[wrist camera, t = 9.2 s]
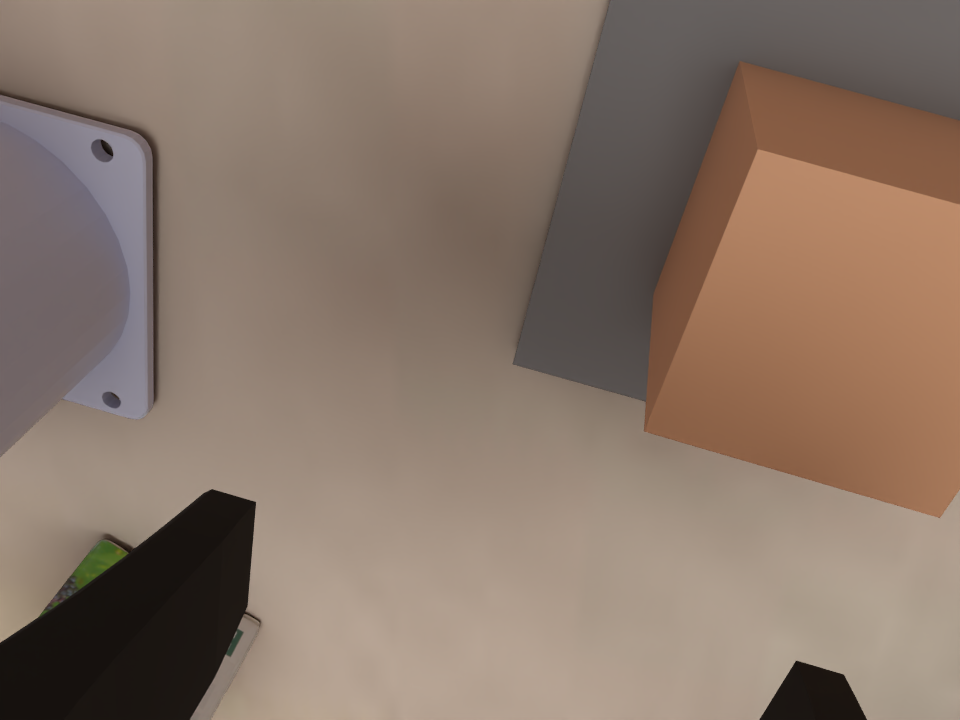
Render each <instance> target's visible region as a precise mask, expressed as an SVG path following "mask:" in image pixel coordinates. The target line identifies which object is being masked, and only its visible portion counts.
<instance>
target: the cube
mask: <svg viewBox="0 0 960 720" xmlns="http://www.w3.org/2000/svg"><path fill="white" fill-rule="evenodd" d="M644 432H648V433H651V434H655V435H658V436H662V437H665V438H668V439H672V440H675V441H679V442H682V443H686V444H689V445H692V446H696V447H699V448H703V449H706V450H709V451H713V452H716V453H720V454H723V455H727V456H730V457H733V458H737V459H740V460H744V461H747V462H750V463H754V464H757V465H761V466H764V467H768V468H771V469H774V470H778V471H781V472H785V473H788V474H791V475H795V476H798V477H802V478H805V479H809V480H812V481H815V482H819V483H822V484H826V485H829V486H833V487H836V488H839V489H843V490H846V491H850V492H853V493H856V494H860V495H863V496H867V497H870V498H874V499H877V500H880V501H884V502H887V503H891V504H894V505H897V506H901V507H904V508H908V509H911V510H915V511H918V512H921V513H925V514H928V515H932V516H935V517H938V518H940V517H941V516H942V514H943V513H944V511H945V510H946V508H947V507H948V505H949V504H950V503H951V501H952V500H953V498H954V497H955V495H956V494H957V492H958V491H959V489H960V120H956V119H952V118H948V117H945V116H941V115H937V114H934V113H930V112H926V111H923V110H919V109H915V108H911V107H908V106H904V105H900V104H897V103H893V102H889V101H886V100H882V99H878V98H875V97H871V96H867V95H863V94H860V93H856V92H852V91H849V90H845V89H841V88H838V87H834V86H830V85H826V84H823V83H819V82H815V81H812V80H808V79H804V78H801V77H797V76H793V75H790V74H786V73H782V72H778V71H775V70H771V69H767V68H764V67H760V66H756V65H753V64H749V63H745V62H742V61H740V62H739V64H738V67H737V70H736V72H735V75H734V78H733V80H732V83H731V86H730V89H729V91H728V94H727V97H726V99H725V102H724V105H723V107H722V110H721V113H720V116H719V118H718V121H717V124H716V126H715V129H714V132H713V134H712V137H711V140H710V143H709V145H708V148H707V151H706V153H705V156H704V159H703V161H702V164H701V167H700V170H699V172H698V175H697V178H696V180H695V183H694V186H693V188H692V191H691V194H690V197H689V199H688V202H687V205H686V207H685V210H684V213H683V216H682V218H681V221H680V224H679V226H678V229H677V232H676V234H675V237H674V240H673V243H672V245H671V248H670V251H669V253H668V256H667V259H666V261H665V264H664V267H663V270H662V272H661V275H660V278H659V280H658V283H657V286H656V288H655V291H654V294H653V307H652V322H651V336H650V351H649V366H648V381H647V395H646V410H645V425H644Z"/></svg>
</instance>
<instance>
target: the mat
mask: <svg viewBox="0 0 960 720" xmlns="http://www.w3.org/2000/svg"><path fill="white" fill-rule="evenodd" d="M740 61H742V62H745V63H749V64H753V65H756V66H760V67H764V68H767V69H771V70H775V71H778V72H782V73H786V74H790V75H793V76H797V77H801V78H804V79H808V80H812V81H815V82H819V83H823V84H826V85H830V86H834V87H838V88H841V89H845V90H849V91H852V92H856V93H860V94H863V95H867V96H871V97H875V98H878V99H882V100H886V101H889V102H893V103H897V104H900V105H904V106H908V107H911V108H915V109H919V110H923V111H926V112H930V113H934V114H937V115H941V116H945V117H948V118H952V119H956V120H960V0H610V3H609V7H608V11H607V15H606V18H605V22H604V26H603V29H602V33H601V37H600V41H599V44H598V48H597V52H596V56H595V59H594V63H593V67H592V71H591V74H590V78H589V82H588V86H587V89H586V93H585V97H584V100H583V104H582V108H581V112H580V115H579V119H578V123H577V127H576V130H575V134H574V138H573V142H572V145H571V149H570V153H569V156H568V160H567V164H566V168H565V171H564V175H563V179H562V183H561V186H560V190H559V194H558V198H557V201H556V205H555V209H554V212H553V216H552V220H551V224H550V227H549V231H548V235H547V239H546V242H545V246H544V250H543V254H542V257H541V261H540V265H539V269H538V272H537V276H536V280H535V283H534V287H533V291H532V295H531V298H530V302H529V306H528V310H527V313H526V317H525V321H524V325H523V328H522V332H521V336H520V339H519V343H518V347H517V351H516V354H515V358H514V362H513V364H514V365H517V366H521V367H525V368H528V369H532V370H535V371H539V372H542V373H546V374H550V375H553V376H557V377H560V378H564V379H567V380H571V381H575V382H578V383H582V384H585V385H589V386H592V387H596V388H600V389H603V390H607V391H610V392H614V393H617V394H621V395H625V396H628V397H632V398H635V399H639V400H642V401H646V395H647V381H648V366H649V351H650V336H651V322H652V307H653V294H654V291H655V288H656V286H657V283H658V280H659V278H660V275H661V272H662V270H663V267H664V264H665V261H666V259H667V256H668V253H669V251H670V248H671V245H672V243H673V240H674V237H675V234H676V232H677V229H678V226H679V224H680V221H681V218H682V216H683V213H684V210H685V207H686V205H687V202H688V199H689V197H690V194H691V191H692V188H693V186H694V183H695V180H696V178H697V175H698V172H699V170H700V167H701V164H702V161H703V159H704V156H705V153H706V151H707V148H708V145H709V143H710V140H711V137H712V134H713V132H714V129H715V126H716V124H717V121H718V118H719V116H720V113H721V110H722V107H723V105H724V102H725V99H726V97H727V94H728V91H729V89H730V86H731V83H732V80H733V78H734V75H735V72H736V70H737V67H738V64H739V62H740Z"/></svg>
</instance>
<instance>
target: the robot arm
mask: <svg viewBox="0 0 960 720" xmlns="http://www.w3.org/2000/svg"><path fill="white" fill-rule="evenodd" d="M101 139H102V140H104V141H106V142H108V144H109V145H110V146H111V147H112V150H113V156H110V155H109V154H107V153H106V152H105V151H104V150H103V148H102V145H101ZM111 392H112V393H114V394H116V395H117V396H118V397H119V398H120V400H119V399H117V398H115V397H114V396H113V395H112V394H111ZM61 399H64V400H67V401H71V402H74V403H78V404H81V405H85V406H88V407H92V408H95V409H98V410H102V411H105V412H109V413H112V414H116V415H119V416H122V417H126V418H129V419H136V420H138V419H142V418H144V417H145V416H146V415H147V414H148V412H149V411H150V410H151V409H152V407H153V403H154V391H153V157H152V152H151V148H150V146H149V145H148V143H147V141H146V140H145V139H144V138H143V137H142V136H141V135H140V134H138V133H136V132H134V131H131V130H128V129H124V128H121V127H117V126H113V125H110V124H106V123H102V122H99V121H95V120H91V119H88V118H84V117H80V116H77V115H73V114H69V113H65V112H62V111H58V110H54V109H51V108H47V107H43V106H40V105H36V104H32V103H29V102H25V101H21V100H18V99H14V98H10V97H7V96H3V95H0V457H1V456H2V455H3V454H4V453H5V452H6V451H8V450H9V449H10V448H11V447H12V446H13V445H14V444H15V443H16V442H17V441H18V440H19V439H20V438H21V437H22V436H23V435H24V434H25V433H26V432H27V431H29V430H30V429H31V428H32V427H33V426H34V425H35V424H36V423H37V422H38V421H39V420H40V419H41V418H42V417H43V416H44V415H45V414H46V413H47V412H49V411H50V410H51V409H52V408H53V407H54V406H55V405H56V404H57V403H58V402H59V401H60V400H61ZM255 508H256V502H254V501H250V500H247V499H244V498H240V497H237V496H233V495H230V494H227V493H223V492H220V491H216V490H213V489H212V490H210V491H208V492H205V493H203V494H202V495H201V496H200V497H199V498H197V499H196V500H195V501H194V502H193V503H191V504H190V505H189V506H188V507H187V508H185V509H184V510H183V511H182V512H180V513H179V514H178V515H177V516H175V517H174V518H173V519H172V520H171V521H169V522H168V523H167V524H166V525H164V526H163V527H162V528H161V529H159V530H158V531H157V532H156V533H154V534H153V535H152V536H150V537H149V538H148V539H147V540H145V541H144V542H143V543H141V544H140V545H139V546H138V547H136V548H135V549H134V550H132V551H131V552H130V553H128V554H127V555H126V556H125V557H123V558H122V559H121V560H119V561H118V562H116V563H115V564H114V565H112V566H111V567H110V568H108V569H107V570H105V571H104V572H103V573H101V574H100V575H99V576H97V577H96V578H95V579H93V580H92V581H90V582H89V583H88V584H86V585H85V586H84V587H82V588H81V589H80V590H78V591H77V592H75V593H74V594H73V595H71V596H70V597H68V598H67V599H65V600H64V601H63V602H61V603H60V604H58V605H57V606H55V607H54V608H52V609H51V610H49V611H48V612H46V613H45V614H43V615H42V616H40V617H38V618H37V619H35V620H34V621H32V622H31V623H29V624H28V625H26V626H25V627H23V628H22V629H20V630H19V631H17V632H16V633H14V634H13V635H11V636H10V637H8V638H7V639H5V640H4V641H2V642H1V643H0V720H190V718H191V717H192V715H193V713H194V712H195V710H196V708H197V707H198V705H199V703H200V702H201V700H202V698H203V697H204V695H205V693H206V692H207V690H208V688H209V686H210V685H211V683H212V681H213V680H214V678H215V676H216V674H217V672H218V670H219V668H220V665H221V663H222V661H223V659H224V657H225V655H226V653H227V650H228V648H229V646H230V644H231V642H232V640H233V637H234V635H235V633H236V631H237V628H238V626H239V624H240V622H241V619H242V617H243V615H244V613H245V611H246V608H247V605H248V593H249V581H250V569H251V556H252V544H253V532H254V520H255ZM760 720H867V719H866V717H865V715H864V713H863V711H862V709H861V707H860V705H859V703H858V701H857V699H856V697H855V695H854V693H853V691H852V689H851V687H850V686H849V684H848V682H847V680H846V678H845V676H844V675H843V674H840V673H836V672H833V671H830V670H826V669H823V668H819V667H816V666H813V665H809V664H806V663H802V662H799V661H796V662H795V663H794V665H793V667H792V668H791V670H790V672H789V673H788V675H787V676H786V678H785V680H784V681H783V683H782V684H781V686H780V688H779V689H778V691H777V692H776V694H775V696H774V697H773V699H772V700H771V702H770V704H769V705H768V707H767V709H766V710H765V712H764V713H763V715H762V717H761V718H760Z"/></svg>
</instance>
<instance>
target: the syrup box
mask: <svg viewBox="0 0 960 720" xmlns="http://www.w3.org/2000/svg"><path fill="white" fill-rule="evenodd" d="M127 554H128V552H127V551H125V550H124V549H123V548H122V547H120V546H118V545H117V544H115V543H113V542H111V541H109V540H100V541H99V542H98V543H97V544H96V545H95V546H94V547H93V548H92V550H91V551H90V552H89V553H88V555H87V556H86V557H85V558H84V560H83V561H82V562H81V564H80V565H79V566H78V567H77V569H76V570H75V571H74V572H73V574H72V575H71V576H70V577H69V579H68V580H67V581H66V583H65V584H64V585H63V586H62V588H61V589H60V590H59V591H58V593H57V594H56V595H55V596H54V598H53V599H52V600H51V602H50V603H49V604H48V605H47V607H46V608H45V609H44V611H43V612H42V613H41V614H40V616H42V615H43V614H45V613H46V612H48V611H49V610H51V609H52V608H54V607H55V606H57V605H58V604H60V603H61V602H63V601H64V600H65V599H67V598H68V597H70V596H71V595H73V594H74V593H75V592H77V591H78V590H80V589H81V588H82V587H84V586H85V585H86V584H88V583H89V582H90V581H92V580H93V579H95V578H96V577H97V576H99V575H100V574H101V573H103V572H104V571H105V570H107V569H108V568H110V567H111V566H112V565H114V564H115V563H116V562H118V561H119V560H121V559H122V558H123V557H125V556H126V555H127ZM40 616H39V617H40ZM259 625H260V623H259V622H258V621H257V620H256V619H254V618H252V617H250V616H249V615H247V614H244V615H243V617H242V619H241V622H240V624H239V626H238V628H237V631H236V633H235V635H234V637H233V640H232V642H231V644H230V646H229V648H228V650H227V653H226V655H225V657H224V659H223V661H222V663H221V665H220V668H219V670H218V672H217V674H216V676H215V678H214V680H213V681H212V683H211V685H210V686H209V688H208V690H207V692H206V693H205V695H204V697H203V698H202V700H201V702H200V703H199V705H198V707H197V708H196V710H195V712H194V713H193V715H192V717H191V718H190V720H211V719H212V717H213V715H214V713H215V711H216V709H217V707H218V705H219V703H220V702H221V700H222V698H223V696H224V695H225V693H226V691H227V689H228V688H229V686H230V684H231V682H232V680H233V679H234V677H235V675H236V673H237V672H238V670H239V668H240V666H241V664H242V662H243V661H244V659H245V657H246V655H247V653H248V651H249V649H250V648H251V646H252V644H253V642H254V640H255V638H256V636H257V634H258V631H259Z"/></svg>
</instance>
